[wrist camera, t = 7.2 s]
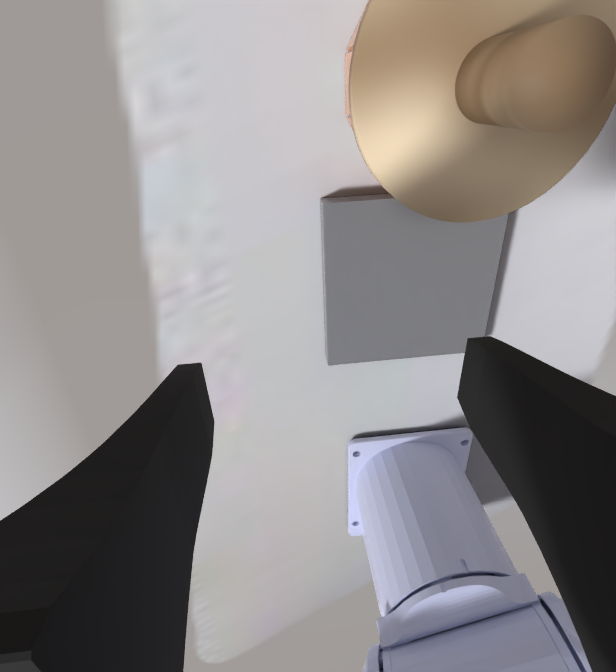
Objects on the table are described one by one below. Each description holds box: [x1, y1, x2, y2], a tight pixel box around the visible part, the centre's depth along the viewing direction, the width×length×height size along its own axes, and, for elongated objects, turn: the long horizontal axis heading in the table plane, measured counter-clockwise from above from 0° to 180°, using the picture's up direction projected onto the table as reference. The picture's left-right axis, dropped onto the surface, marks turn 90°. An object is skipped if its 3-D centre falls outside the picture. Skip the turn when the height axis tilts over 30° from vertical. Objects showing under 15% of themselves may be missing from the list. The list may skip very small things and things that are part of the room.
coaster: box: [320, 194, 509, 365], centre depth 20 cm, size 8×8×1 cm
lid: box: [348, 0, 616, 223], centre depth 12 cm, size 9×9×5 cm
